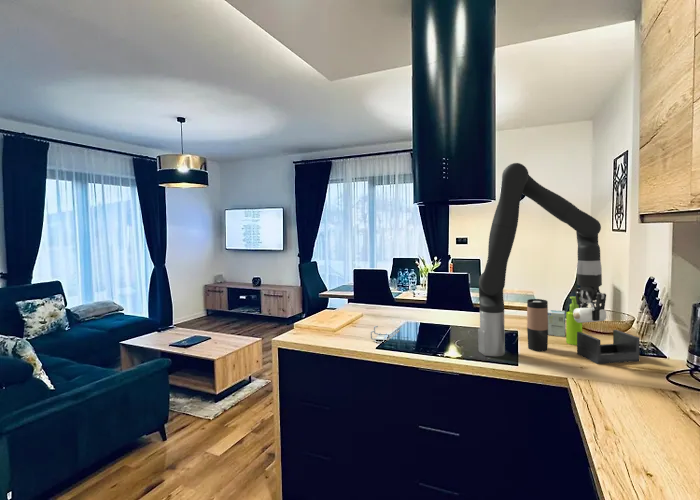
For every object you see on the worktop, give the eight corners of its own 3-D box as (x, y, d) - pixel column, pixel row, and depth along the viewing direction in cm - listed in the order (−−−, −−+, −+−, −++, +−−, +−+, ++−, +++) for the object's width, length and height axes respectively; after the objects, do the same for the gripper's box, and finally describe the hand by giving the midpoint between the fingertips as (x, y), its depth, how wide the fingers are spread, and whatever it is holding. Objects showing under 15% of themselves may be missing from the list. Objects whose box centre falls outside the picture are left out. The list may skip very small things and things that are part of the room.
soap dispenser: (587, 345, 156) (587, 298, 155) (569, 345, 158) (569, 298, 157) (581, 341, 162) (581, 295, 161) (564, 341, 164) (564, 295, 162)
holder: (597, 364, 136) (597, 340, 136) (577, 354, 147) (577, 331, 147) (639, 361, 137) (639, 337, 137) (616, 351, 148) (616, 329, 148)
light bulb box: (565, 333, 175) (565, 310, 174) (565, 337, 169) (564, 313, 169) (540, 330, 181) (540, 308, 180) (538, 334, 175) (538, 311, 174)
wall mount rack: (375, 334, 186) (374, 322, 185) (402, 335, 182) (402, 323, 182) (369, 343, 170) (368, 331, 170) (399, 344, 167) (398, 332, 167)
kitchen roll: (581, 312, 134) (571, 306, 139) (578, 325, 136) (569, 318, 141) (610, 310, 135) (600, 304, 140) (607, 323, 137) (597, 316, 141)
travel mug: (547, 346, 157) (547, 299, 156) (548, 352, 150) (548, 302, 149) (527, 345, 160) (526, 298, 159) (527, 350, 153) (527, 301, 152)
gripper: (566, 271, 144) (568, 315, 145) (592, 275, 130) (593, 324, 130) (586, 270, 144) (587, 313, 145) (613, 274, 130) (614, 322, 131)
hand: (590, 318), depth 138 cm, fingers closed on kitchen roll, 5 cm apart
